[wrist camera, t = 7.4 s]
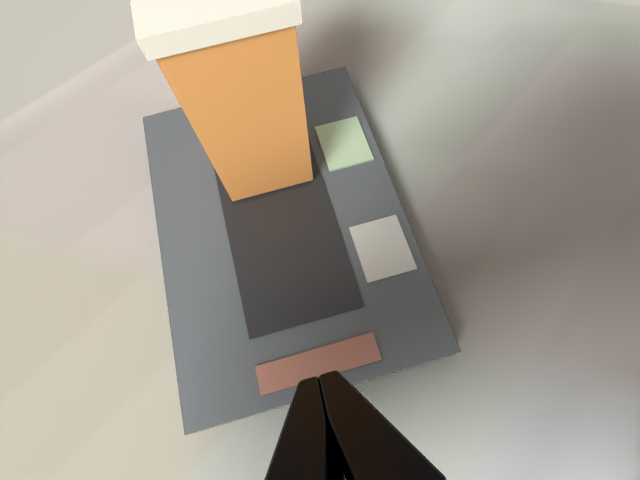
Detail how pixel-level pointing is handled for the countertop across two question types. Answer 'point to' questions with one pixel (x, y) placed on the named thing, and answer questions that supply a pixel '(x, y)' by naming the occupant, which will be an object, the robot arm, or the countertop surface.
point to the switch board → (288, 267)
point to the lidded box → (235, 84)
